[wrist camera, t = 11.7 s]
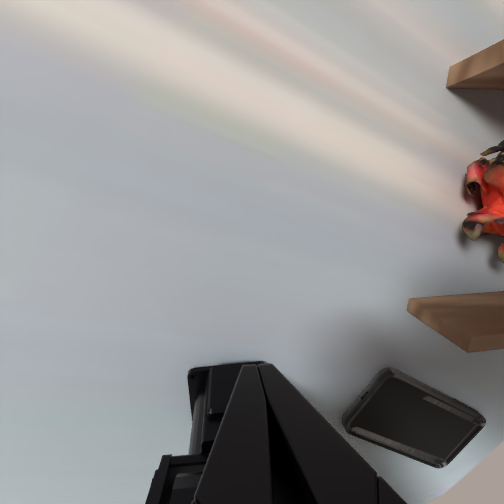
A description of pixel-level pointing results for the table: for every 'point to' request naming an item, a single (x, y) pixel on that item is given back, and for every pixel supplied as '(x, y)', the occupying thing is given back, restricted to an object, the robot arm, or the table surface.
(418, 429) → the phone
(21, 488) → the table surface
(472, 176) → the dragon fruit
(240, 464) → the robot arm
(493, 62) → the box
